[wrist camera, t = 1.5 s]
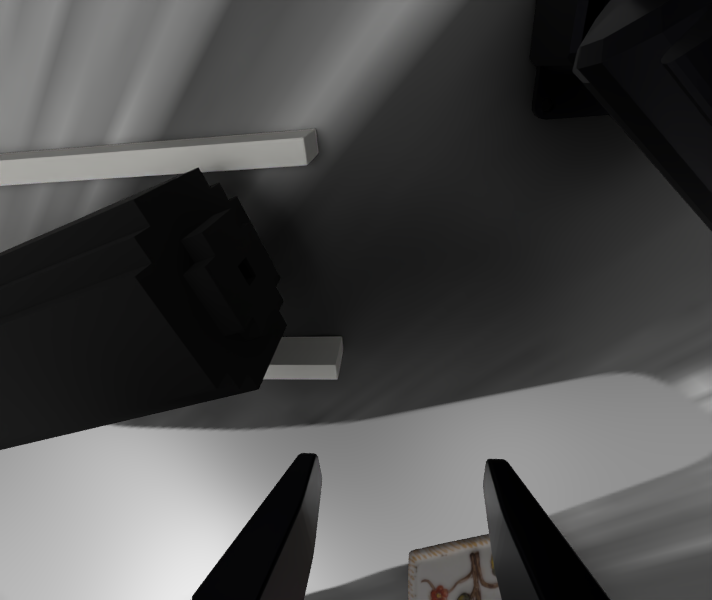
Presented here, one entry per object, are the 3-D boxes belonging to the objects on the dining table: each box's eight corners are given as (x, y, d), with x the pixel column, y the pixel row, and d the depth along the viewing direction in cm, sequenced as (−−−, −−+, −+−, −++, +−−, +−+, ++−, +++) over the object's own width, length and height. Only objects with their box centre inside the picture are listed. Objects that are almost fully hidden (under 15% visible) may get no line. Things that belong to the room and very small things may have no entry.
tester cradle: (315, 128, 17) (286, 149, 12) (343, 350, 23) (330, 415, 18) (-146, 164, 20) (-298, 191, 15) (-13, 351, 26) (-95, 407, 21)
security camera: (-21, 259, 22) (-288, 381, 13) (259, 138, 17) (118, 208, 9) (64, 351, 25) (-109, 498, 17) (322, 271, 20) (264, 420, 12)
